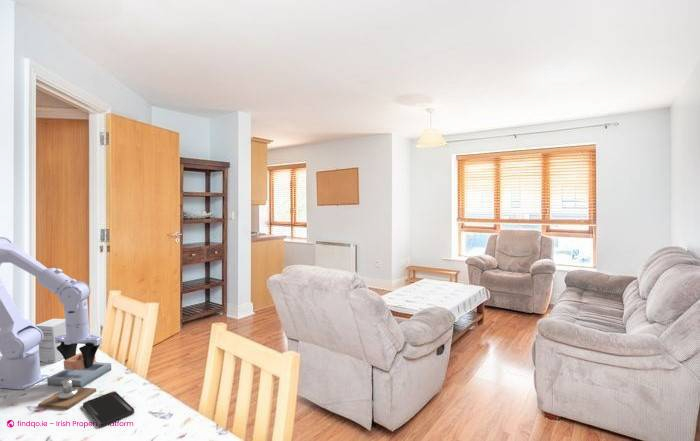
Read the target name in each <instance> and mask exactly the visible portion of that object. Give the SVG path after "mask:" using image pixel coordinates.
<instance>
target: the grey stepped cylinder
mask: <svg viewBox="0 0 700 441" xmlns="http://www.w3.org/2000/svg"><path fill="white" fill-rule="evenodd" d="M72 379H73V377H69V378H67V379H65V380H63V381H61V382H62V384H63V387H62V390H59V391H58V392H59V393H58V392H57V393H58V400H68V399H71V398H73V397H75V396H77V395H78V388H72Z"/></svg>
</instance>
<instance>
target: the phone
mask: <svg viewBox="0 0 700 441" xmlns="http://www.w3.org/2000/svg"><path fill="white" fill-rule="evenodd" d="M82 404H83V405H82V406H83V408H84V410H85V412H86V413H88V415H89V416H90V417H91V418H92V419H93V421H94V422H95V423H96V424H97V426H99V428H103V427H107V426H109V425H111V424H114V423H116V422H119V421H121V420H123V419H126V418H129V417H130V416H133V415H134V414H135V409H134V407H133V406H132V405H130V404H129V403H128V401H126V400H125V399H124V398H123V397H122V396H121V395H120V394H119V393H118V392H117V391H112V392H108V393H105V394H102V395H100V396H96V397H94V398H92V399H88V400H85V402H83V403H82Z"/></svg>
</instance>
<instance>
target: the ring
mask: <svg viewBox="0 0 700 441" xmlns="http://www.w3.org/2000/svg"><path fill="white" fill-rule="evenodd" d="M94 362H97V361H96V356H95V357H94V361H93V363H94ZM63 368H64V369H70V370H82V369H83V368H85V366H84V360H83V356H82V353H81V352H79V353H78V354H77V353H76V355H75V356H73V357H71V358H69V359H67V360H65V359H64V360H63ZM64 369H63V370H64Z"/></svg>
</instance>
